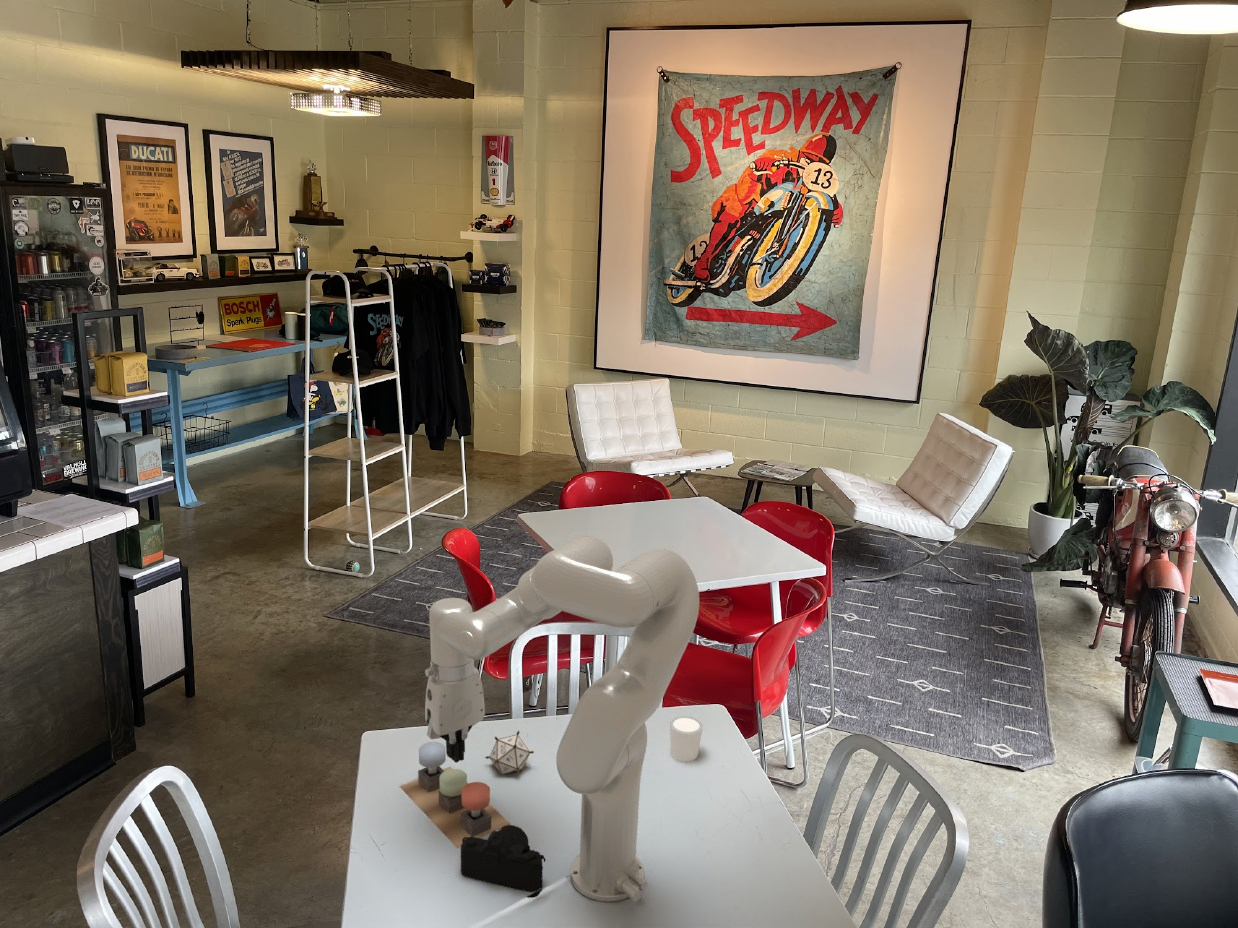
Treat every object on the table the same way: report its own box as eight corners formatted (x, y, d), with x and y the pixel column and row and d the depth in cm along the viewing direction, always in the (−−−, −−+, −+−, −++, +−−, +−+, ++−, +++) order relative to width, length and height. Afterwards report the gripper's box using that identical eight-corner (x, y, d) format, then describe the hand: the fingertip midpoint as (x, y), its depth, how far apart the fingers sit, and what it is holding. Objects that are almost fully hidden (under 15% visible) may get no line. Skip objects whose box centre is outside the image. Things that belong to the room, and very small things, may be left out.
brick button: (495, 816, 167) (495, 791, 166) (470, 826, 164) (470, 802, 162) (480, 802, 171) (480, 778, 169) (456, 812, 167) (456, 788, 166)
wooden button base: (510, 829, 169) (510, 811, 168) (457, 853, 163) (457, 834, 162) (450, 771, 186) (449, 754, 185) (399, 791, 179) (399, 774, 178)
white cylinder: (664, 759, 193) (666, 729, 191) (672, 742, 199) (674, 712, 197) (696, 766, 191) (698, 736, 189) (703, 748, 197) (705, 719, 195)
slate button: (450, 773, 179) (450, 750, 177) (427, 782, 176) (426, 759, 174) (437, 761, 182) (437, 738, 181) (414, 770, 179) (414, 747, 178)
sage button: (472, 801, 173) (472, 778, 172) (448, 811, 170) (448, 788, 169) (458, 788, 177) (458, 765, 176) (434, 798, 174) (434, 775, 172)
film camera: (557, 865, 161) (558, 820, 159) (537, 903, 152) (538, 856, 150) (476, 845, 165) (476, 802, 163) (452, 882, 156) (452, 836, 154)
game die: (516, 792, 186) (529, 773, 179) (477, 777, 185) (488, 757, 178) (529, 751, 192) (542, 732, 185) (491, 736, 192) (502, 716, 184)
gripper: (425, 687, 159) (429, 782, 163) (499, 662, 168) (501, 752, 173) (404, 671, 164) (409, 763, 169) (478, 648, 173) (480, 735, 178)
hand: (455, 757), depth 171 cm, fingers closed
